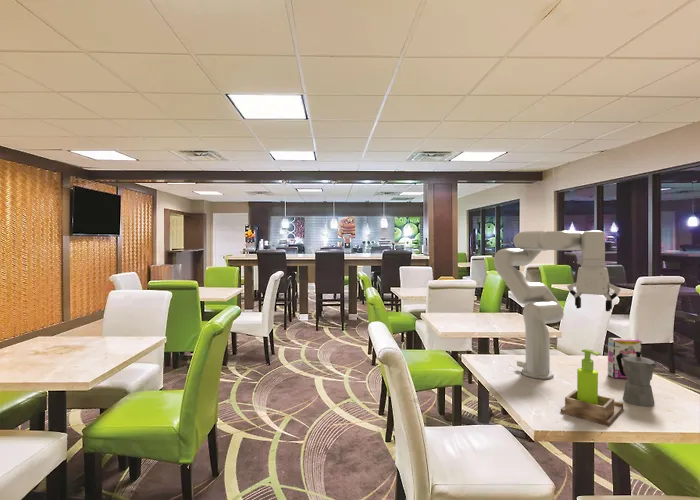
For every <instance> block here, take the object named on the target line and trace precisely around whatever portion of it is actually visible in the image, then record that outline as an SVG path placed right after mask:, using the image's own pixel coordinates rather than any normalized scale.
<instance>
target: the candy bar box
mask: <svg viewBox="0 0 700 500" xmlns="http://www.w3.org/2000/svg"><path fill="white" fill-rule="evenodd" d="M642 342H643V341H641V340H639V339H637V338H630V337H629V338H626V337H625V338H624V337H608V339H607V375H608V376H609V377H610V378H613V379H624V380H627V377H626V376H623V375H621V374H620V370H619V367H618V363H617V360H616V356H617V355H618V354H619V353H623V354H626V355H629V356H636V352H637V351H639V352H641V353H642ZM640 357H642V355H641V356H640ZM621 360H622V366H623V372H624V373H625V369H624V363H623V359H622V358H621Z"/></svg>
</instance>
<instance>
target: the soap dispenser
mask: <svg viewBox="0 0 700 500" xmlns="http://www.w3.org/2000/svg"><path fill="white" fill-rule="evenodd" d="M581 352H582V353H584V358H582V359H581V367H579V368H577V372H576V373H577V375H576V376H577V381H576V384H577V385H576V386H577V388H576V390H577V400H580V401H584V402H588V403H592V404H596V405H598V395H599V389H598V388H599V371H598V370H595V369H594V360H593V359H592V358H591V355H595V356H597V357H598V356H601V355H602V353H600V352H598V351H595V350H592V349H587V348H586V349H581Z"/></svg>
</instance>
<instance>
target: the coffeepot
mask: <svg viewBox="0 0 700 500" xmlns="http://www.w3.org/2000/svg"><path fill="white" fill-rule="evenodd" d="M640 356H641V357H640ZM621 358H622V359H623V363H624V369H625V373H624V372H623V366H622V360H621ZM616 360H617V363H618V367H619V370H620V374H621V375H623V376H626V377H627V379H626V381H625V385H624V389H623V395H622V399H623V400H624V401H625V402H627V403H629V404H632V405H635V406H638V407H639V406H641V407H653V406H654V404H655V398H654V393H653V389H652V385H651V381H652V379H653V375H654V370H655V369H657V367H658V364H657V363H656V361H654V360H652V359H649V358H646V357H643V356H642V351H641V352H639V351H637V352H636V356H629V355H626V354H623V353H619V354H618V355H617V356H616Z"/></svg>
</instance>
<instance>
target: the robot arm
mask: <svg viewBox="0 0 700 500" xmlns="http://www.w3.org/2000/svg"><path fill="white" fill-rule="evenodd" d="M513 245H514V247H509V248H502V249H499V250H497V252H495V255H494V257H493V264H494V268H495V270H496V272H497V274H498V276H500V278H501V279H502V280H503V282H505V284H506V286H507V288H508V289H509V290H510V291H511V293H512V295H513V297H514V298H515V300H516V301H517V302H518V303H519V304H523V305H524V304H525V306H524V307H523V311H522V315H523V316H522V317H523V322H524V329H525V330H524V332H525V361H519V360H517V361H516V366H517V367H519V368H522V369H521V373H522V375H524V376H525V377H529V378H533V379H538V380H548V379H552V378H554V377H555V373H554V372H553V371H551V370H550V369H551V368H550V365H551V363H550V360H551V359H550V351H551V350H550V348H551V347H550V332H549V329H548V327H547V324H555V323H558V322H561V321H562V319H563V318H564V315H565V314H564V309H563V307H562V304H561V303H560V302H559V300H558V299H557V298H556V297H555V295H554V294H553V292H552V290H551V289H550V288H549V286H547V285H546V284H544V283H542V282H538V281H537V282H530V281H528V280H527V278H526V277H525V275H524V274H523V273H522V272H521V271H520V270H519V269H517V268H516V267H523V266H528V265H529V264H530V263H532V262H533V261H534V259H536V258H537V257H538V256H539V254H541V252H542V251H543V252H544V251H580V253H581V255H580V257H581V258H580V260H577V261H576V263H577V265H580V266H579V267H578V269H577V273H576V282H573V283H570V284H569V285H567V289H568V291H569V292H570V295H572V296H573V298H574V306H575V307H576V309H581V308H582V297H581V296H582V294H583V295H594V296H595V295H597V296H604V297H605V299H606V300H605V311H606V312H610V311H611V310H612V308H613V300H614V299H615V298H616V297H618V296H619V293H620V292H621V291H622V289H621V288H620V287H618V286H616V285H614V284H612V283H610V278H609V277H610V276H609V271H608V270H609V269H608V268H607V267H606V259H605V258H606V234H605V232H604V231H602V230H585V231H581V230H580V231H579V230H558V231H557V230H556V231H555V230H554V231H552V230H551V231H549V230H529V231H528V230H527V231H519V232H517V234H515V235H514V236H513ZM574 287H575V288H576V289H574ZM610 289H611V290H613V291H614V292H613V294H610Z"/></svg>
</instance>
